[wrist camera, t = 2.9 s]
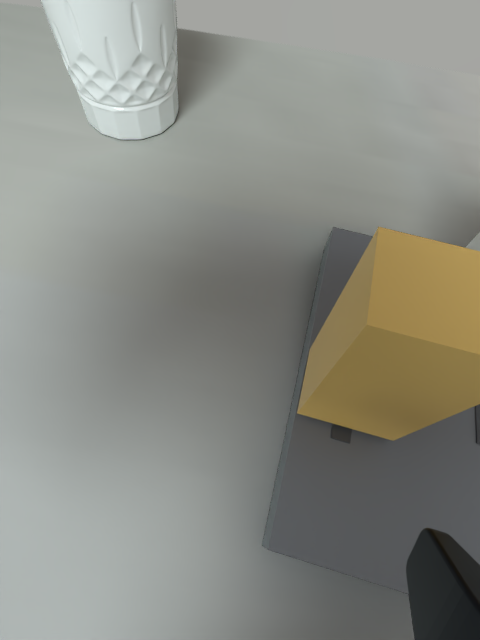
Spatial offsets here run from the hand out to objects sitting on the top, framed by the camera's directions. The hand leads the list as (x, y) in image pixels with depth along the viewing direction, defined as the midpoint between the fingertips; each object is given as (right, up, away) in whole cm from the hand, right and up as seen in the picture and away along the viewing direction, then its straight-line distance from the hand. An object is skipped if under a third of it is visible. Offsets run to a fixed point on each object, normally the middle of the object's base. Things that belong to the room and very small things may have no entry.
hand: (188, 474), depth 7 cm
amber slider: (+6, 0, +9) cm, 10 cm away
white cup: (-7, +19, +21) cm, 29 cm away
